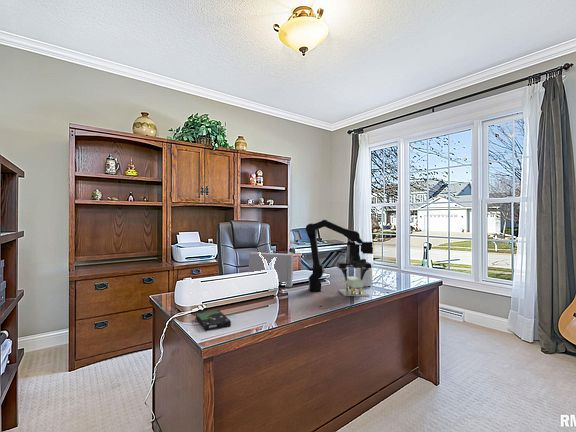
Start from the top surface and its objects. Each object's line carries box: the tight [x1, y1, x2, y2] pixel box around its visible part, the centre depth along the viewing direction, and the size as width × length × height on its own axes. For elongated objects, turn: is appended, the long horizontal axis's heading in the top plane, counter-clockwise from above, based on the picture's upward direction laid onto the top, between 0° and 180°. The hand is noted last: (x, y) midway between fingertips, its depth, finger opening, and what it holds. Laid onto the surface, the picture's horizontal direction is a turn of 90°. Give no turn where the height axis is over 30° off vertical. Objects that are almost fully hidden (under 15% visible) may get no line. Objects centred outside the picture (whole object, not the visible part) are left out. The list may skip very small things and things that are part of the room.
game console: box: [248, 251, 294, 288], centre depth 186 cm, size 6×27×20 cm, turn 78°
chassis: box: [338, 283, 370, 297], centre depth 169 cm, size 14×12×5 cm
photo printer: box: [355, 267, 373, 287], centre depth 188 cm, size 10×4×12 cm, turn 86°
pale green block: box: [344, 275, 364, 288], centre depth 169 cm, size 6×12×4 cm, turn 10°
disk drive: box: [195, 310, 232, 332], centre depth 120 cm, size 10×3×15 cm
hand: (353, 280), depth 169 cm, fingers open, 9 cm apart
